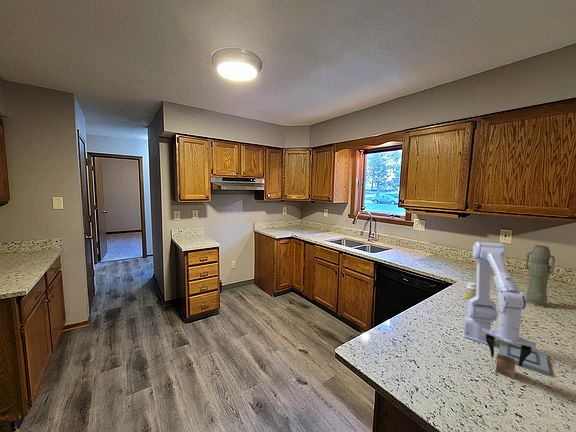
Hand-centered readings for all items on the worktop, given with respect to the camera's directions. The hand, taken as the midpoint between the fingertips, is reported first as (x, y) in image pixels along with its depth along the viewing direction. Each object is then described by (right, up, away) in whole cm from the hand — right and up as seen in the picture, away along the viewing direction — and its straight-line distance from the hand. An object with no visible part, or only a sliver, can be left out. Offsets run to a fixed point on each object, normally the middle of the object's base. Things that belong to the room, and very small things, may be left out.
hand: (505, 360), depth 93 cm
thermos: (+69, 0, +60) cm, 91 cm away
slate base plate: (+14, -4, +8) cm, 16 cm away
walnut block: (0, -5, 0) cm, 5 cm away
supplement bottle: (+34, +1, +65) cm, 73 cm away
